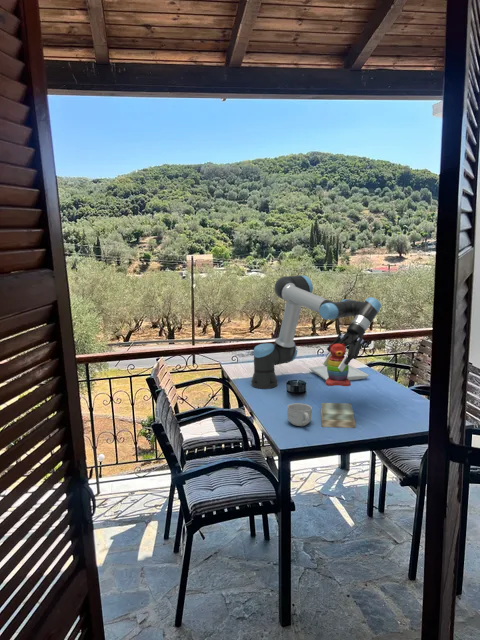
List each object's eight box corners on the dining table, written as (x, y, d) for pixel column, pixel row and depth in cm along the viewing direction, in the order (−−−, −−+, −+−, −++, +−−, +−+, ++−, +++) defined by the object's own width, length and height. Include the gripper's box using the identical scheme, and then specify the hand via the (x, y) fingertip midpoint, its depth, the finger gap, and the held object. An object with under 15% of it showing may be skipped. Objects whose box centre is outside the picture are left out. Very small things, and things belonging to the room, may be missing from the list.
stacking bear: (325, 386, 186) (325, 346, 183) (324, 379, 196) (325, 341, 193) (351, 386, 184) (351, 346, 181) (349, 379, 194) (349, 341, 191)
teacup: (285, 419, 195) (285, 402, 194) (308, 418, 196) (308, 401, 195) (291, 432, 182) (291, 414, 180) (316, 430, 183) (316, 413, 181)
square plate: (369, 381, 250) (370, 374, 249) (326, 385, 244) (326, 379, 243) (347, 368, 276) (347, 363, 275) (308, 372, 270) (308, 366, 269)
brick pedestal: (322, 426, 186) (322, 413, 185) (320, 414, 200) (320, 402, 199) (354, 427, 184) (355, 414, 183) (351, 415, 198) (351, 403, 197)
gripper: (381, 336, 186) (354, 377, 180) (344, 329, 204) (319, 367, 198) (373, 325, 182) (346, 367, 176) (336, 319, 200) (310, 357, 195)
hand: (332, 367), depth 187 cm, fingers closed on stacking bear, 9 cm apart
